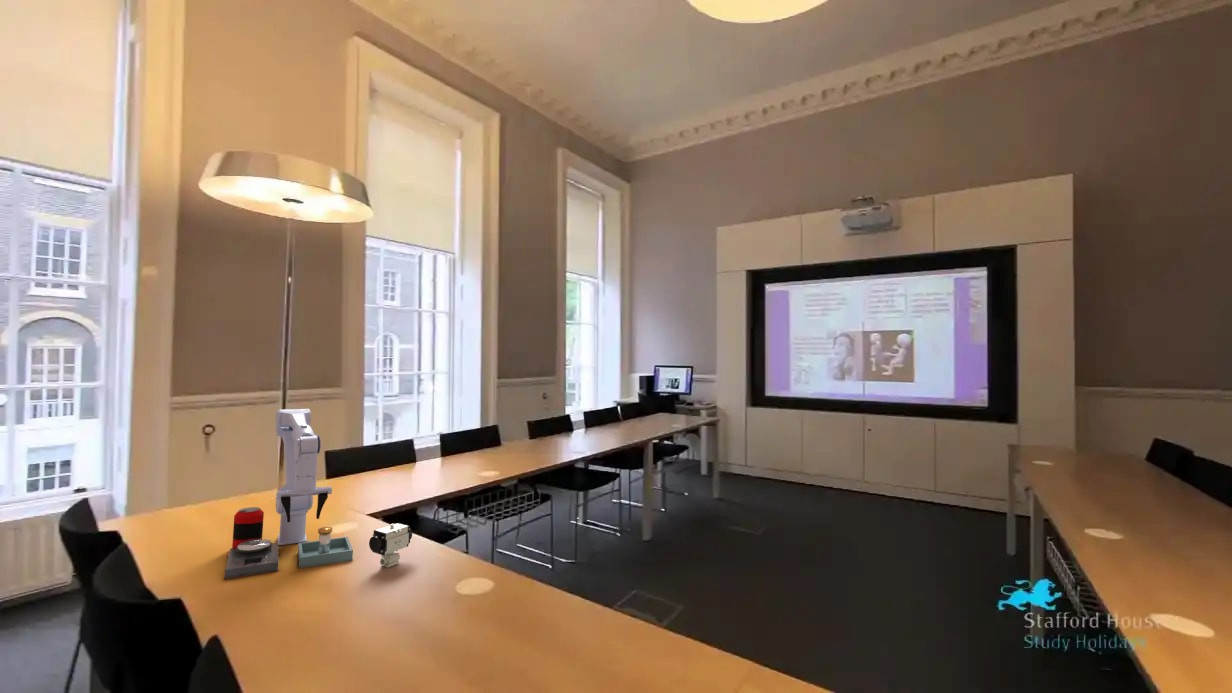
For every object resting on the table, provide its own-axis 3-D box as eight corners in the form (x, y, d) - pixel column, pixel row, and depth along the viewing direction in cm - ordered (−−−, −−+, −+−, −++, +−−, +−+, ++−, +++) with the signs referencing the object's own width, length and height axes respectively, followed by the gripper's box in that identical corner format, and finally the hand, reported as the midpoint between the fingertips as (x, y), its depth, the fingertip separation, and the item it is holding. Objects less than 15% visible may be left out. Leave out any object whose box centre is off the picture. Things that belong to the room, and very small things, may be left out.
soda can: (225, 551, 158) (228, 511, 159) (248, 542, 166) (251, 505, 166) (245, 554, 157) (247, 514, 157) (267, 545, 164) (270, 507, 164)
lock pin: (316, 554, 157) (317, 527, 158) (330, 552, 159) (331, 526, 160) (316, 558, 154) (318, 531, 154) (331, 556, 156) (332, 529, 157)
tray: (297, 552, 159) (298, 543, 159) (347, 545, 166) (347, 536, 167) (299, 568, 148) (300, 557, 148) (352, 560, 155) (352, 550, 155)
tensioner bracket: (229, 556, 154) (230, 538, 154) (277, 550, 160) (278, 532, 161) (224, 579, 139) (226, 558, 139) (277, 570, 145) (279, 551, 146)
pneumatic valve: (367, 570, 149) (369, 528, 149) (400, 557, 159) (402, 518, 159) (379, 574, 146) (382, 531, 146) (413, 561, 156) (415, 521, 157)
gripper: (278, 479, 152) (275, 526, 151) (333, 475, 160) (331, 519, 159) (277, 475, 158) (275, 520, 157) (331, 471, 166) (329, 514, 165)
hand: (303, 519), depth 159 cm, fingers open, 7 cm apart
